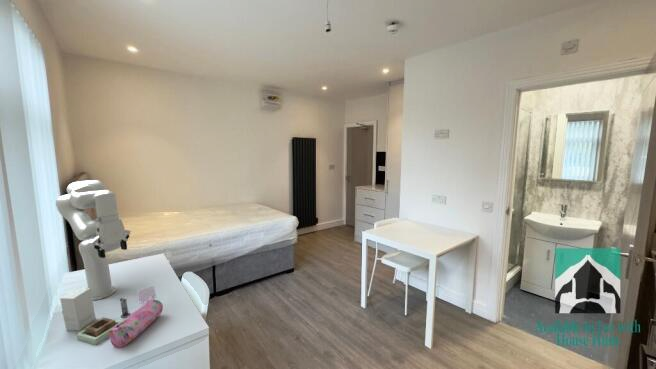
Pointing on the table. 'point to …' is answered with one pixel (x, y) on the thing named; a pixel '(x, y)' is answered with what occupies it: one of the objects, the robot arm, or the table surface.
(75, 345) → the table surface
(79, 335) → the tray
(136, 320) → the pencil case
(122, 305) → the grey stamp
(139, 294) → the mobile phone
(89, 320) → the skincare box
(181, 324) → the table surface
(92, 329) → the brown square frame
